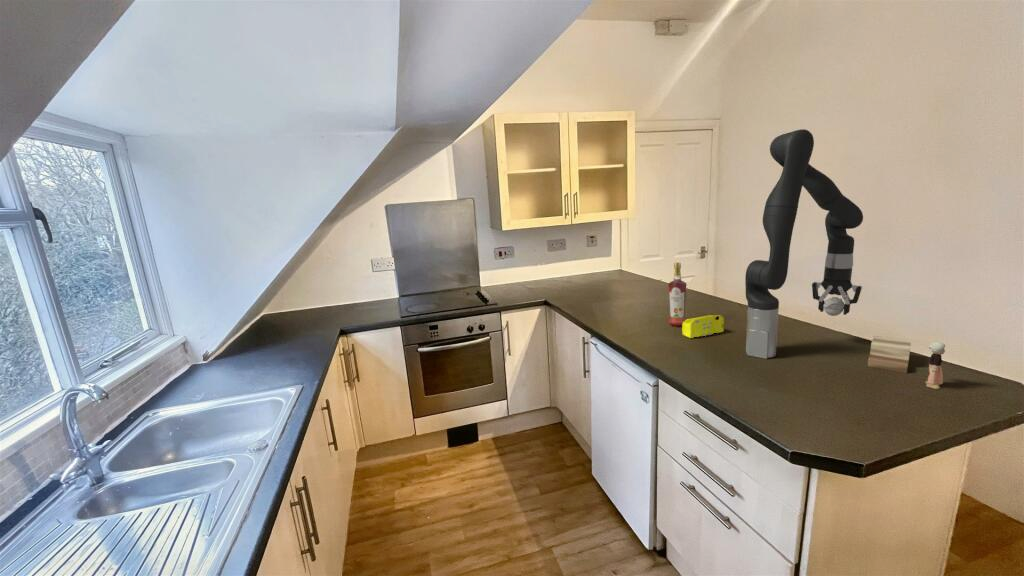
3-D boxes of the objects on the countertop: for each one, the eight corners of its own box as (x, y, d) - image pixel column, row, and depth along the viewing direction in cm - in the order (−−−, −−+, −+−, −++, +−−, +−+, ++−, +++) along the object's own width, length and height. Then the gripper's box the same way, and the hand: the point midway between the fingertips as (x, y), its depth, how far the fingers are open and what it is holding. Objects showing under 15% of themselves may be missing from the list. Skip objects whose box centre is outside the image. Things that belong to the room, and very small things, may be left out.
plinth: (906, 373, 123) (909, 354, 122) (867, 366, 130) (869, 348, 128) (908, 358, 133) (911, 340, 132) (872, 352, 139) (874, 335, 138)
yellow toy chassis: (691, 340, 164) (691, 320, 162) (681, 336, 169) (681, 316, 168) (724, 333, 168) (724, 314, 166) (714, 330, 173) (714, 311, 172)
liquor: (687, 323, 184) (688, 261, 178) (684, 328, 178) (684, 264, 172) (670, 321, 188) (670, 261, 182) (666, 326, 182) (666, 264, 176)
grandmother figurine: (946, 391, 112) (953, 347, 109) (927, 389, 114) (933, 346, 111) (937, 380, 118) (944, 338, 115) (919, 378, 120) (925, 337, 117)
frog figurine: (824, 317, 144) (826, 298, 142) (820, 312, 150) (822, 294, 149) (846, 319, 141) (848, 299, 140) (840, 313, 147) (843, 295, 146)
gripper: (810, 266, 144) (806, 312, 148) (864, 269, 134) (858, 318, 138) (815, 263, 150) (811, 307, 153) (867, 265, 139) (861, 313, 143)
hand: (833, 312), depth 145 cm, fingers closed on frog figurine, 6 cm apart
